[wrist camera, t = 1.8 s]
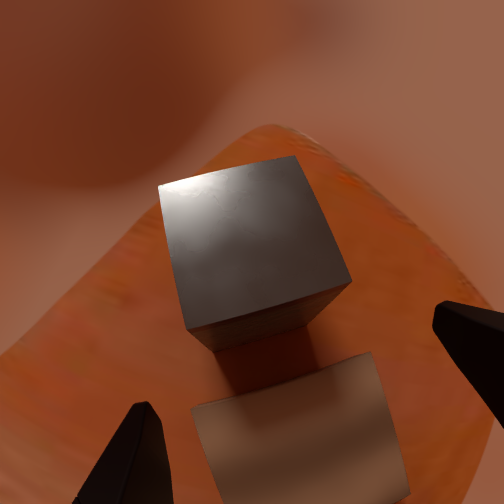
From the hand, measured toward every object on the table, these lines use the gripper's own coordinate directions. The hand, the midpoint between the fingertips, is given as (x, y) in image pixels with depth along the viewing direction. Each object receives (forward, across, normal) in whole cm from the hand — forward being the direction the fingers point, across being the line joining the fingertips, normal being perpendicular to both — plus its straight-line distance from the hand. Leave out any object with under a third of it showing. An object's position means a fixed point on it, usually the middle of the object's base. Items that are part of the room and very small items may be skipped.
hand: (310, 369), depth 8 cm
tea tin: (+13, 0, +4) cm, 13 cm away
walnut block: (+4, 0, +13) cm, 14 cm away
